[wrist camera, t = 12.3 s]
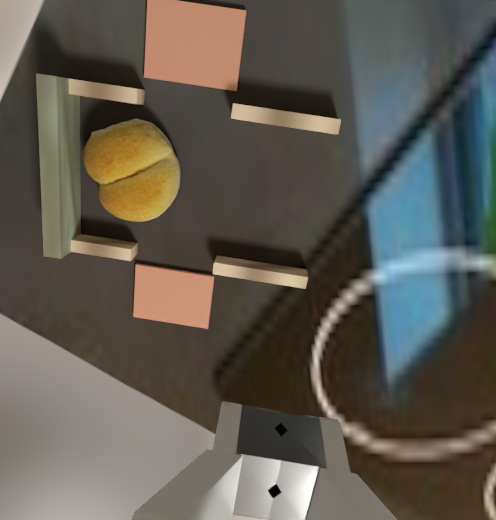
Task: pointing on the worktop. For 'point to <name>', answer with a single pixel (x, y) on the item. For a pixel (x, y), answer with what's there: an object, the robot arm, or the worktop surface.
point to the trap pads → (196, 73)
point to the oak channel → (69, 187)
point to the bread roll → (133, 169)
